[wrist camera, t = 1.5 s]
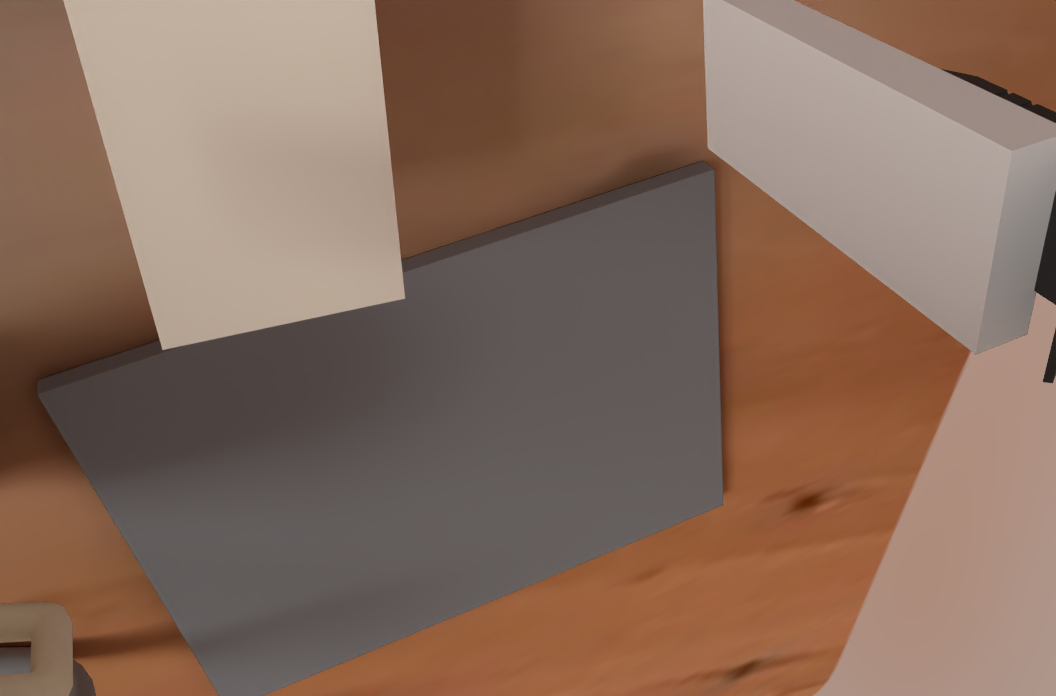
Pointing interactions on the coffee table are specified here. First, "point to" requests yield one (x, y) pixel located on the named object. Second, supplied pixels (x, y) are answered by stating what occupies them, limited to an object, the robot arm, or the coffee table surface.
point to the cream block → (246, 156)
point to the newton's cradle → (19, 662)
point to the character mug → (39, 648)
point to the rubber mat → (418, 436)
